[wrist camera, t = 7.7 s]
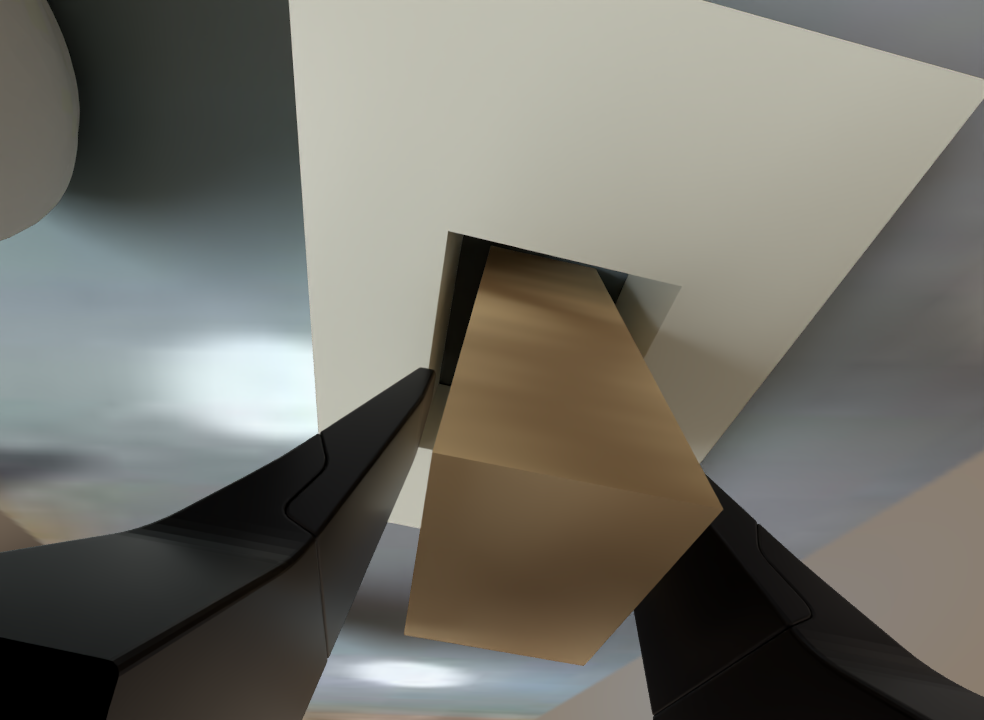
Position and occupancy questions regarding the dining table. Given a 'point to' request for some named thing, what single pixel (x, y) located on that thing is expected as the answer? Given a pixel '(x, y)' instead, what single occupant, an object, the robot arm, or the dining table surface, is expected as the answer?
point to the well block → (595, 179)
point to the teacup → (34, 114)
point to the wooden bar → (550, 473)
